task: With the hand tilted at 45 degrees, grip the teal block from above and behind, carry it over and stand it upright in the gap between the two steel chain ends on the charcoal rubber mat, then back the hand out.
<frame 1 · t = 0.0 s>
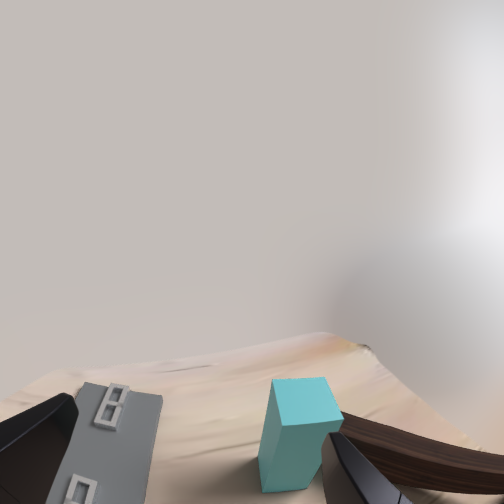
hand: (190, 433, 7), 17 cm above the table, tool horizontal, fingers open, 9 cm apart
hammer: (431, 491, 13), on the table
steel chain: (92, 463, 15), on the rubber mat, point 1 cm above the table
rubber mat: (100, 459, 17), on the table
teal block: (281, 472, 19), on the table
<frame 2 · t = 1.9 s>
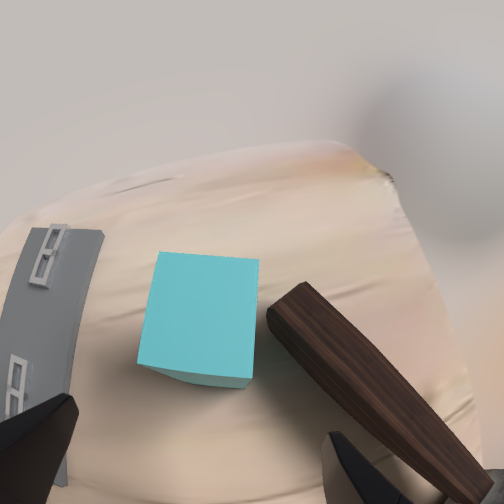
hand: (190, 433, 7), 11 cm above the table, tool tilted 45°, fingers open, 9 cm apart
hammer: (391, 439, 16), on the table
steel chain: (25, 336, 16), on the rubber mat, point 1 cm above the table
rubber mat: (37, 326, 18), on the table
teal block: (218, 357, 19), on the table
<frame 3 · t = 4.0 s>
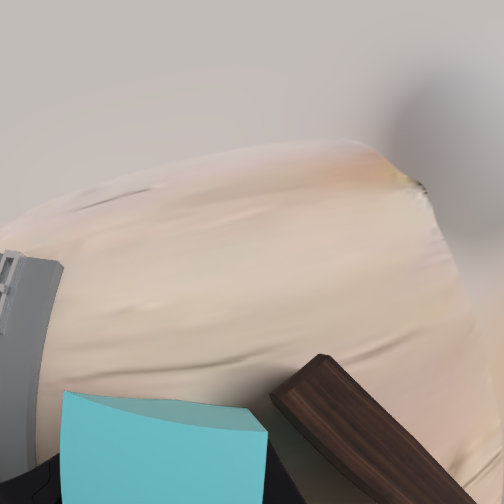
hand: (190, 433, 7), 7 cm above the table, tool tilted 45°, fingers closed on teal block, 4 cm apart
teal block: (208, 441, 12), on the table, touching gripper
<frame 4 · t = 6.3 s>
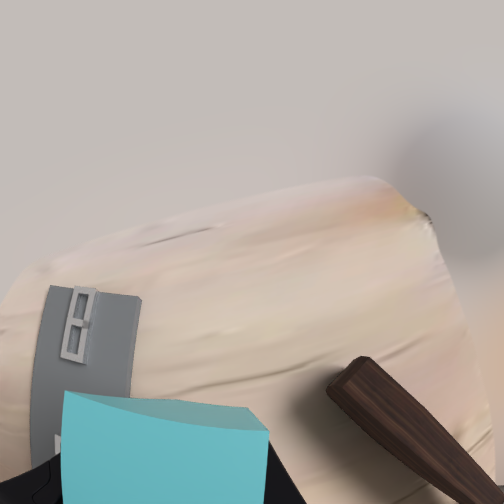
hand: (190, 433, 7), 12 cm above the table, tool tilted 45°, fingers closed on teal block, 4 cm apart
hammer: (425, 468, 15), on the table
steel chain: (68, 416, 15), on the rubber mat, point 1 cm above the table
rubber mat: (77, 401, 17), on the table
teal block: (208, 440, 12), point 6 cm above the table, touching gripper
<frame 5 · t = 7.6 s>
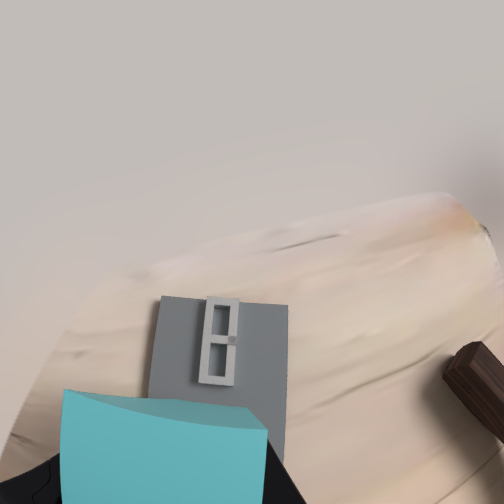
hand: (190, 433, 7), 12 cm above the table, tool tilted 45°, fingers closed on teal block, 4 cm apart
hammer: (497, 437, 15), on the table
steel chain: (212, 449, 15), on the rubber mat, point 1 cm above the table
rubber mat: (214, 428, 17), on the table
teal block: (208, 440, 12), point 5 cm above the table, touching gripper
when the fingers open (8 cm above the table, at t = 8.6 s): teal block stays where it is, resting on rubber mat.
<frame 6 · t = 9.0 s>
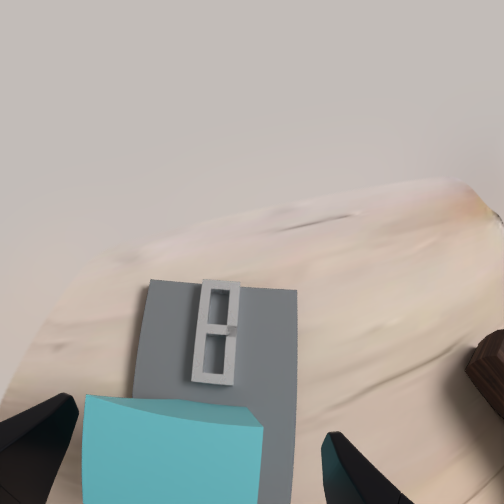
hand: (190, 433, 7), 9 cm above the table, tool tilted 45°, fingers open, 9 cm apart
steel chain: (207, 461, 12), on the rubber mat, point 1 cm above the table
rubber mat: (211, 436, 14), on the table
teal block: (209, 438, 13), point 1 cm above the table, touching rubber mat
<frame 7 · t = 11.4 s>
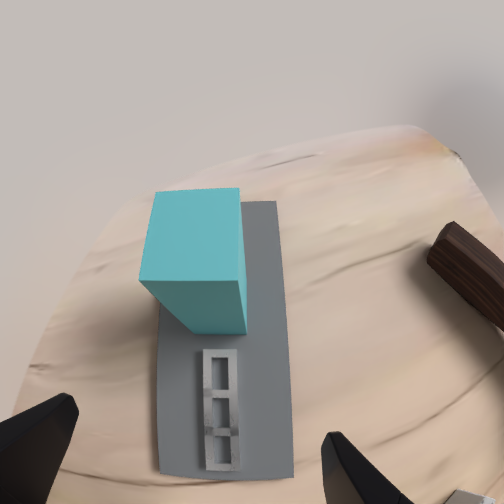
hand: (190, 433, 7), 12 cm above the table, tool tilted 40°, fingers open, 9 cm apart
hammer: (502, 335, 20), on the table
steel chain: (220, 323, 20), on the rubber mat, point 1 cm above the table
rubber mat: (222, 309, 22), on the table
teal block: (220, 306, 21), point 1 cm above the table, touching rubber mat
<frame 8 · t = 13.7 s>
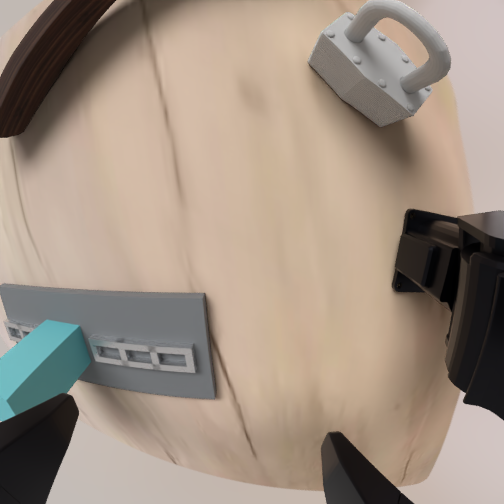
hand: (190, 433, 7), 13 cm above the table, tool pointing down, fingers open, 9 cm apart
hammer: (117, 8, 14), on the table
steel chain: (76, 344, 20), on the rubber mat, point 1 cm above the table
padlock: (354, 83, 16), on the table
rubber mat: (73, 335, 21), on the table
teal block: (68, 340, 20), point 1 cm above the table, touching rubber mat
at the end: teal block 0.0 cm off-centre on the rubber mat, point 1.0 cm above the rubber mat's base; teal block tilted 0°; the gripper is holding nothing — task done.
